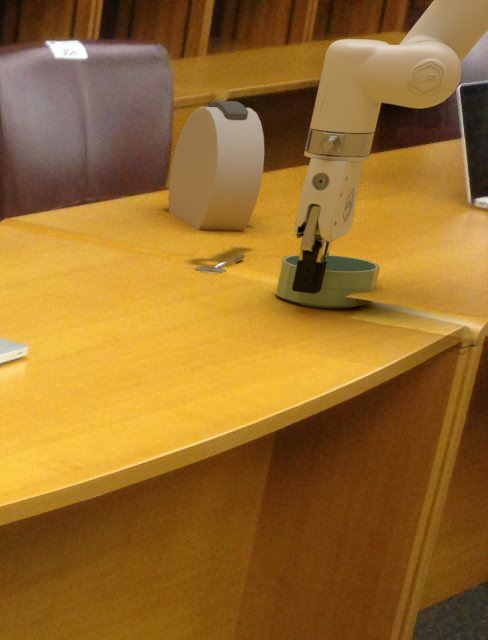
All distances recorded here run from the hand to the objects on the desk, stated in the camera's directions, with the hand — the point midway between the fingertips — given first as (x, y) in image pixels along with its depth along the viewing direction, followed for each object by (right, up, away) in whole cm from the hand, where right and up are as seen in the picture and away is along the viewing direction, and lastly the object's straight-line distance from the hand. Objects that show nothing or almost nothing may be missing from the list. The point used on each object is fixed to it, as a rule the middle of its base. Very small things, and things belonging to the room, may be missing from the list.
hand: (305, 291), depth 201 cm
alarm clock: (+9, +25, +56) cm, 61 cm away
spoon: (0, +10, +25) cm, 27 cm away
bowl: (+5, 0, +7) cm, 8 cm away
